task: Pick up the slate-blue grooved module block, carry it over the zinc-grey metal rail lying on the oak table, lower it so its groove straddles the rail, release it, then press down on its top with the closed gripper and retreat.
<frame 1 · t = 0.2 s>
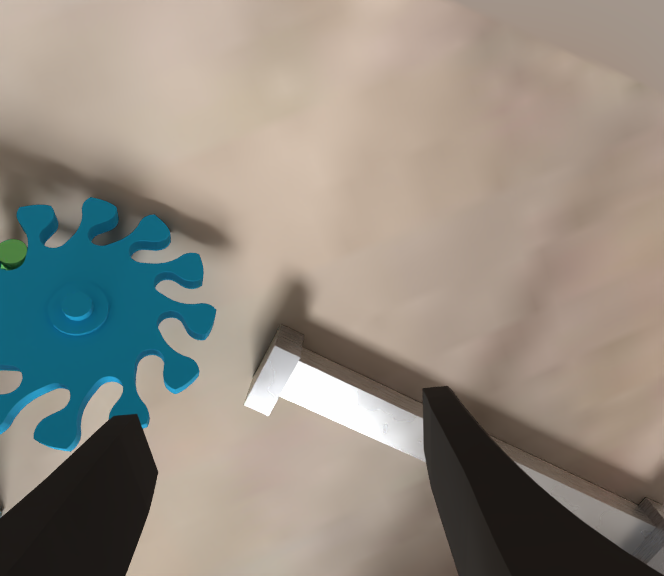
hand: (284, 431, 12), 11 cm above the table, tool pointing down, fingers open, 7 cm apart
rail: (467, 444, 25), on the table
gear: (113, 277, 23), on the table
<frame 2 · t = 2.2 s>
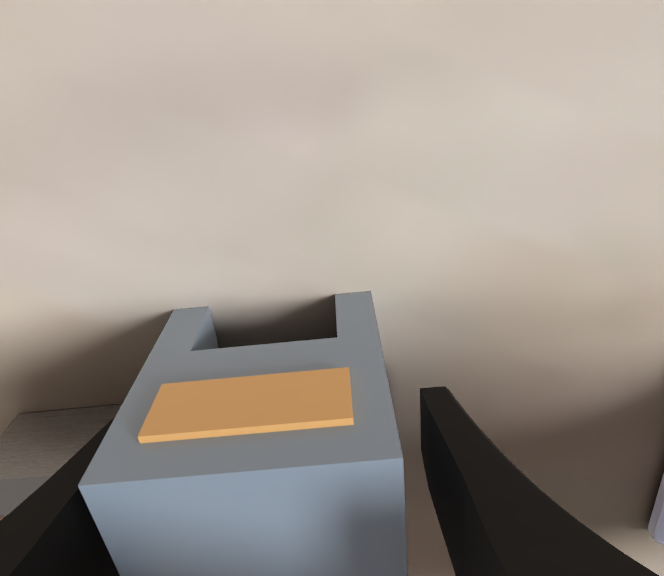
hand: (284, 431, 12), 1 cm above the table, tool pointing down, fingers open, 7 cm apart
module: (288, 394, 14), on the table
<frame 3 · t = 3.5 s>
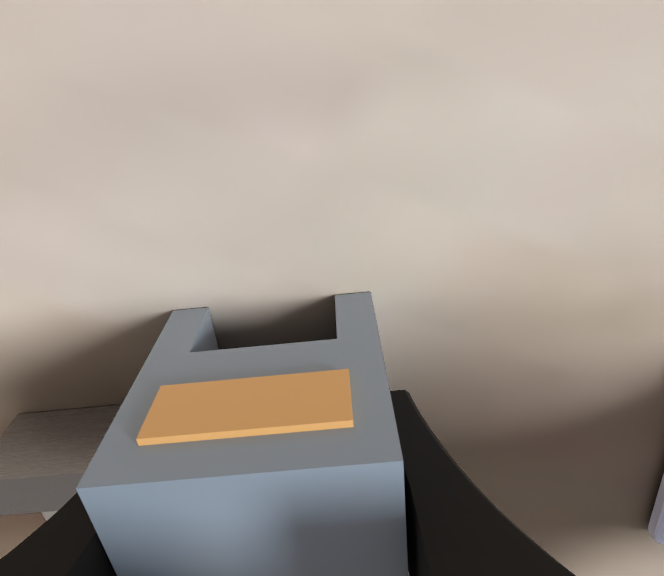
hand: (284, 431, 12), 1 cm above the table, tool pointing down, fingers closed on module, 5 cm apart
module: (287, 395, 14), on the table, touching gripper
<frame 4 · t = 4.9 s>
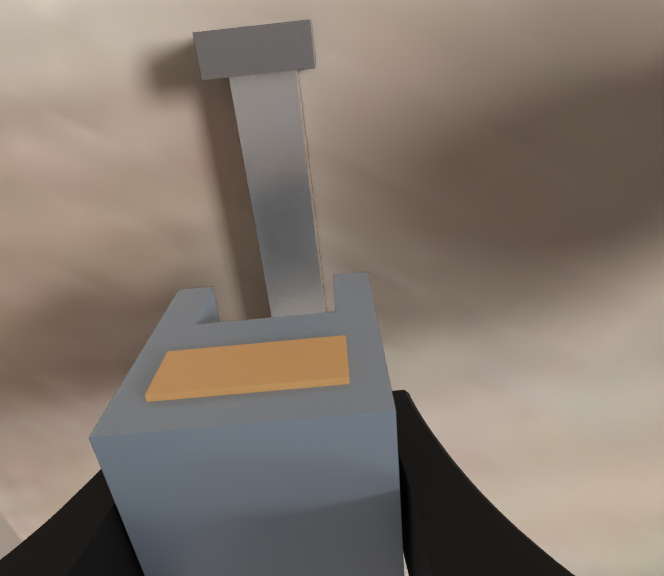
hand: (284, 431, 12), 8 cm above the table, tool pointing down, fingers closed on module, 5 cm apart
module: (288, 374, 14), point 6 cm above the table, touching gripper
rail: (304, 330, 20), on the table
when the fingers open (2 cm above the table, at t = 6.7 s): module stays where it is, resting in rail.
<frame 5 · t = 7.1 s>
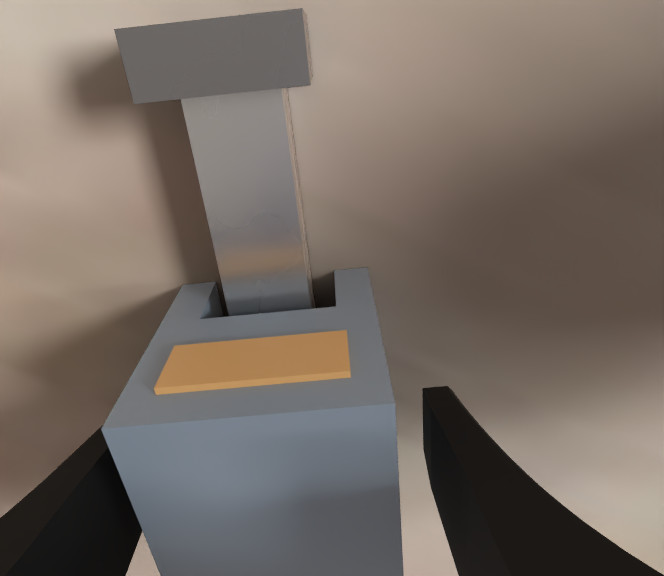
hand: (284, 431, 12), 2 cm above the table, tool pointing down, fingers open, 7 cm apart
module: (289, 366, 15), resting in rail
rail: (298, 424, 15), on the table
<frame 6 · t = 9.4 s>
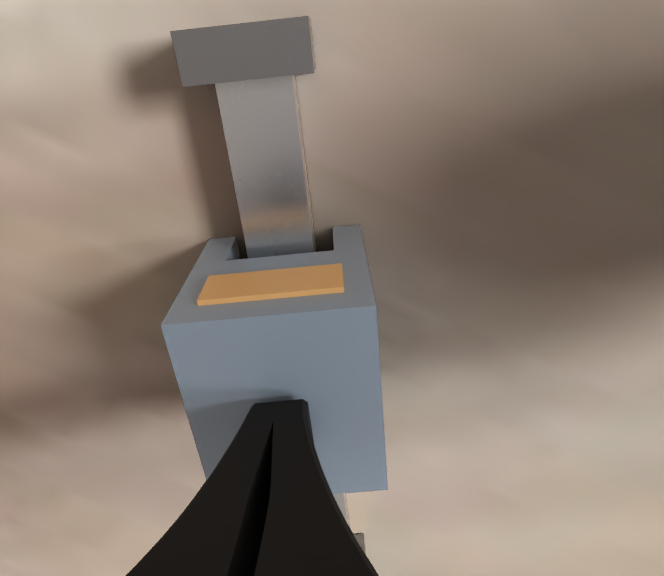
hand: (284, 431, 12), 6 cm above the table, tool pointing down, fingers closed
module: (296, 310, 18), resting in rail
rail: (303, 361, 18), on the table
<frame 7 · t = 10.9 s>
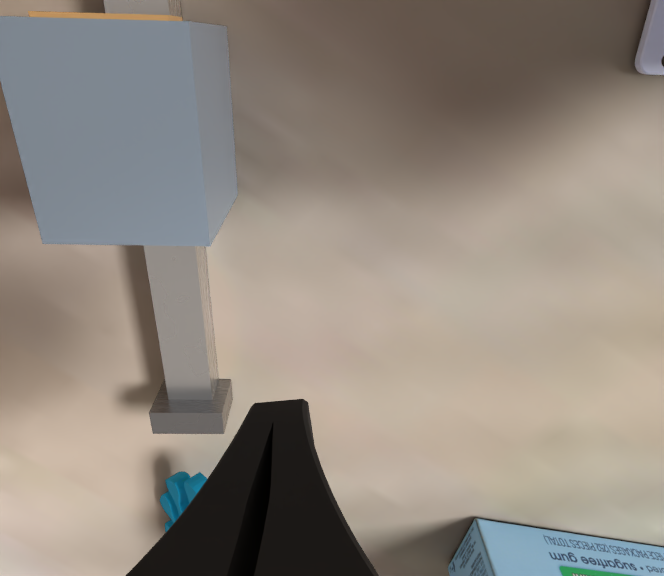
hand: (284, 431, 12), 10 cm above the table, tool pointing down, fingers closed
module: (165, 115, 18), resting in rail
rail: (172, 174, 19), on the table
gum box: (603, 558, 31), on the table
gear: (232, 505, 28), on the table
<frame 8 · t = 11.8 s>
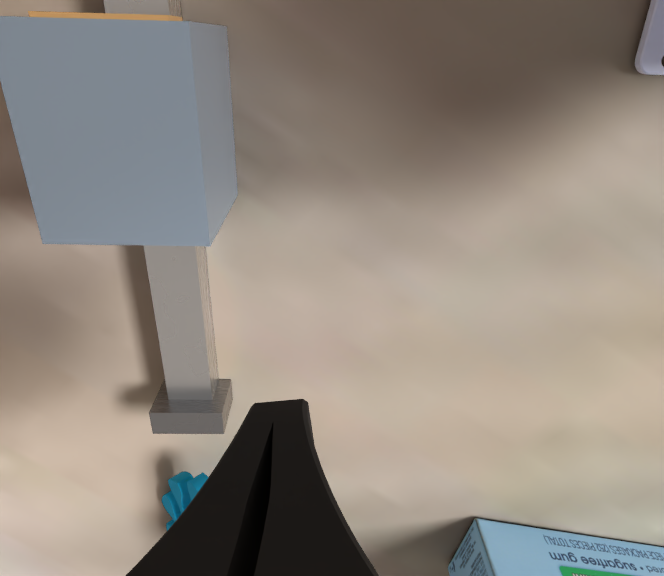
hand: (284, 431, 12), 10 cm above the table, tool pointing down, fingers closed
module: (165, 115, 18), resting in rail
rail: (172, 174, 19), on the table
gum box: (603, 558, 31), on the table
gear: (233, 505, 28), on the table
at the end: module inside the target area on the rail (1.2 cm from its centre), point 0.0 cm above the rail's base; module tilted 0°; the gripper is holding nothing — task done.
